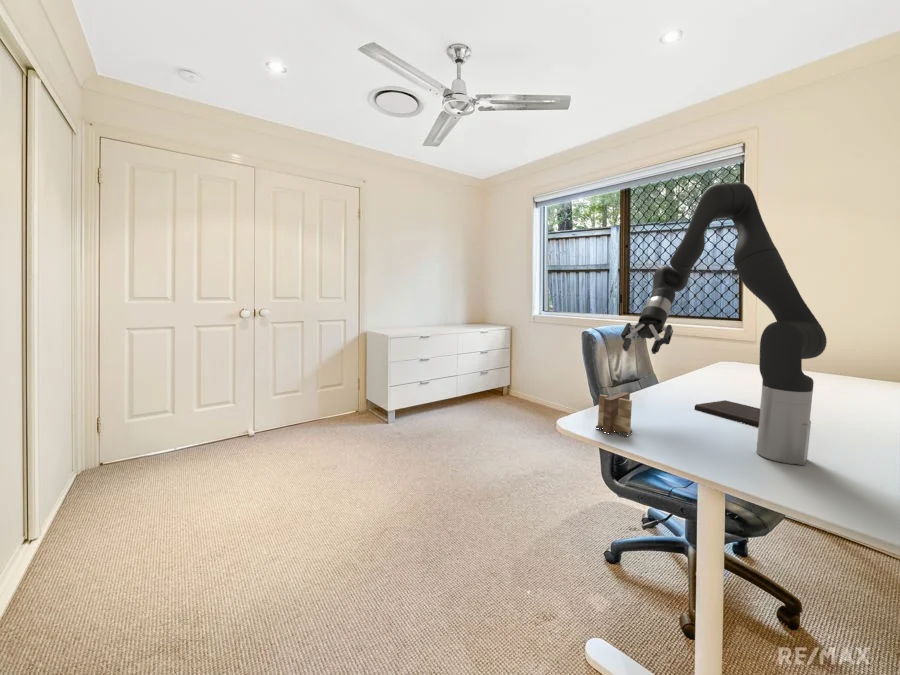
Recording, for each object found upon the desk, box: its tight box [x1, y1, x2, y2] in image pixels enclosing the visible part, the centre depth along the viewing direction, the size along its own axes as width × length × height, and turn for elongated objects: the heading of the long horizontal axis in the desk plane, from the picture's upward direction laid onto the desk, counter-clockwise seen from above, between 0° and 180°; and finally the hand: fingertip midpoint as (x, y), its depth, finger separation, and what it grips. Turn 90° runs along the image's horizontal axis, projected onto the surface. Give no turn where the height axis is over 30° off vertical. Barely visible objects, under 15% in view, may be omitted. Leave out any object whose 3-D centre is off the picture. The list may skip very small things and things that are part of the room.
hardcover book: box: [694, 400, 760, 428], centre depth 128 cm, size 16×23×2 cm
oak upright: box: [595, 394, 633, 437], centre depth 113 cm, size 9×4×10 cm, turn 42°
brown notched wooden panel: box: [602, 391, 631, 435], centre depth 115 cm, size 2×12×10 cm, turn 132°
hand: (638, 350), depth 122 cm, fingers open, 8 cm apart
